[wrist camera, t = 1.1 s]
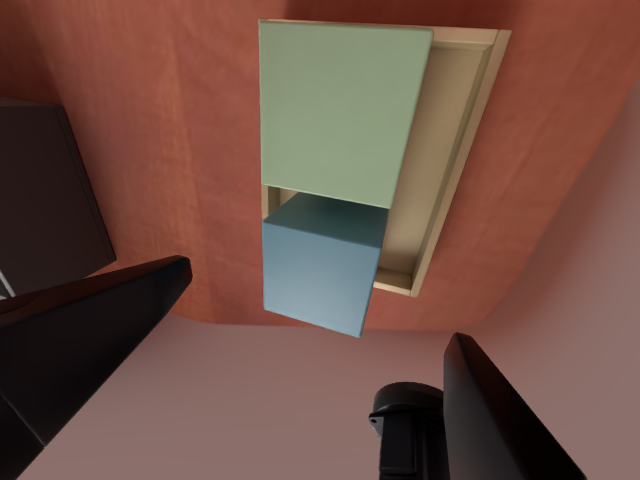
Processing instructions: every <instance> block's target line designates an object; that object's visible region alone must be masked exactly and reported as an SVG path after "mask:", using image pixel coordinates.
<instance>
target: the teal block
mask: <svg viewBox="0 0 640 480" xmlns="http://www.w3.org/2000/svg"><path fill="white" fill-rule="evenodd" d="M389 210H390V209H388V208H382V207H377V206H372V205H367V204H362V203H356V202H351V201H346V200H341V199H336V198H330V197H325V196H320V195H315V194H310V193H304V192H298V193H296V194H295V195H294V196H293V197H291V198H290V199H289V200H288V201H286V202H285V203H284V204H283V205H281V206H280V207H279V208H278V209H276V210H275V211H274V212H273V213H271V214H270V215H269V216H268V217H266V218H265V219H264V220H263V221H262V241H263V300H264V309H265V310H268V311H271V312H274V313H278V314H281V315H284V316H288V317H291V318H294V319H298V320H301V321H304V322H308V323H311V324H314V325H317V326H321V327H324V328H327V329H331V330H334V331H337V332H341V333H344V334H347V335H351V336H354V337H358V338H360V337H361V334H362V330H363V326H364V322H365V318H366V313H367V309H368V305H369V301H370V297H371V293H372V289H373V285H374V280H375V276H376V272H377V268H378V264H379V260H380V256H381V252H382V247H383V242H384V237H385V231H386V226H387V221H388V216H389Z"/></svg>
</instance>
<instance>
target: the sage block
mask: <svg viewBox="0 0 640 480" xmlns="http://www.w3.org/2000/svg"><path fill="white" fill-rule="evenodd" d="M433 37H434V30H433V29H431V28H410V27H389V26H368V25H347V24H326V23H304V22H283V21H260V22H259V62H260V121H261V180H262V184H263V185H268V186H273V187H278V188H284V189H289V190H294V191H299V192H304V193H310V194H315V195H320V196H325V197H330V198H336V199H341V200H346V201H351V202H356V203H362V204H367V205H372V206H377V207H382V208H388V209H390V208H392V206H393V202H394V198H395V194H396V189H397V185H398V181H399V177H400V173H401V169H402V165H403V161H404V156H405V152H406V148H407V144H408V140H409V136H410V132H411V128H412V123H413V119H414V115H415V111H416V107H417V103H418V99H419V95H420V90H421V86H422V82H423V78H424V74H425V70H426V66H427V62H428V57H429V53H430V49H431V45H432V41H433Z"/></svg>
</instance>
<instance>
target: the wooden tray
mask: <svg viewBox="0 0 640 480" xmlns="http://www.w3.org/2000/svg"><path fill="white" fill-rule="evenodd" d="M260 21H283V22H304V23H326V24H347V25H368V26H389V27H410V28H431V29H433V30H434V37H433V41H432V45H431V49H430V53H429V57H428V62H427V66H426V70H425V74H424V78H423V82H422V86H421V90H420V95H419V99H418V103H417V107H416V111H415V115H414V119H413V123H412V128H411V132H410V136H409V140H408V144H407V148H406V152H405V156H404V161H403V165H402V169H401V173H400V177H399V181H398V185H397V189H396V194H395V198H394V202H393V206H392V208H390V210H389V216H388V221H387V226H386V231H385V237H384V242H383V247H382V252H381V256H380V260H379V264H378V268H377V272H376V276H375V280H374V285H373V287H376V288H380V289H384V290H388V291H392V292H396V293H400V294H403V295H407V296H409V295H410V296H411V297H415V298H417V297H418V295H419V292H420V289H421V286H422V283H423V281H424V278H425V275H426V272H427V269H428V267H429V264H430V261H431V258H432V255H433V253H434V250H435V247H436V244H437V241H438V239H439V236H440V233H441V230H442V227H443V225H444V222H445V219H446V216H447V213H448V211H449V208H450V205H451V202H452V199H453V196H454V194H455V191H456V188H457V185H458V182H459V180H460V177H461V174H462V171H463V168H464V166H465V163H466V160H467V157H468V154H469V152H470V149H471V146H472V143H473V140H474V138H475V135H476V132H477V129H478V126H479V124H480V121H481V118H482V115H483V112H484V110H485V107H486V104H487V101H488V98H489V96H490V93H491V90H492V87H493V84H494V82H495V79H496V76H497V73H498V70H499V68H500V65H501V62H502V59H503V56H504V53H505V51H506V48H507V45H508V42H509V39H510V37H511V34H512V30H504V29H500V30H498V29H482V28H460V27H438V26H416V25H395V24H373V23H351V22H329V21H307V20H285V19H263V18H259V22H260ZM259 75H260V62H259ZM260 133H261V121H260ZM261 191H262V221H263V220H264V219H265V218H266V217H268V216H269V215H270V214H271V213H273V212H274V211H275V210H276V209H278V208H279V207H280V206H281V205H283V204H284V203H285V202H286V201H288V200H289V199H290V198H291V197H293V196H294V195H295V194H296V193H298V192H299V191H294V190H289V189H284V188H278V187H273V186H268V185H263V184H262V180H261ZM262 250H263V241H262Z"/></svg>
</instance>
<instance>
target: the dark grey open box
mask: <svg viewBox="0 0 640 480" xmlns="http://www.w3.org/2000/svg"><path fill="white" fill-rule="evenodd" d="M115 261H116V259H115V256H114V253H113V250H112V247H111V244H110V241H109V238H108V236H107V233H106V230H105V227H104V224H103V221H102V218H101V215H100V212H99V210H98V207H97V204H96V201H95V198H94V195H93V192H92V189H91V186H90V184H89V181H88V178H87V175H86V172H85V169H84V166H83V163H82V160H81V158H80V155H79V152H78V149H77V146H76V143H75V140H74V137H73V134H72V132H71V129H70V126H69V123H68V120H67V117H66V114H65V111H64V108H63V106H62V105H56V104H49V103H42V102H35V101H28V100H21V99H14V98H7V97H0V300H1V299H5V298H10V297H14V296H18V295H22V294H26V293H30V292H34V291H38V290H42V289H48V288H50V287H53V286H57V285H61V284H65V283H69V282H73V281H77V280H81V279H83V278H85V277H87V276H89V275H91V274H92V273H94V272H96V271H98V270H100V269H102V268H104V267H105V266H107V265H109V264H111V263H113V262H115Z"/></svg>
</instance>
